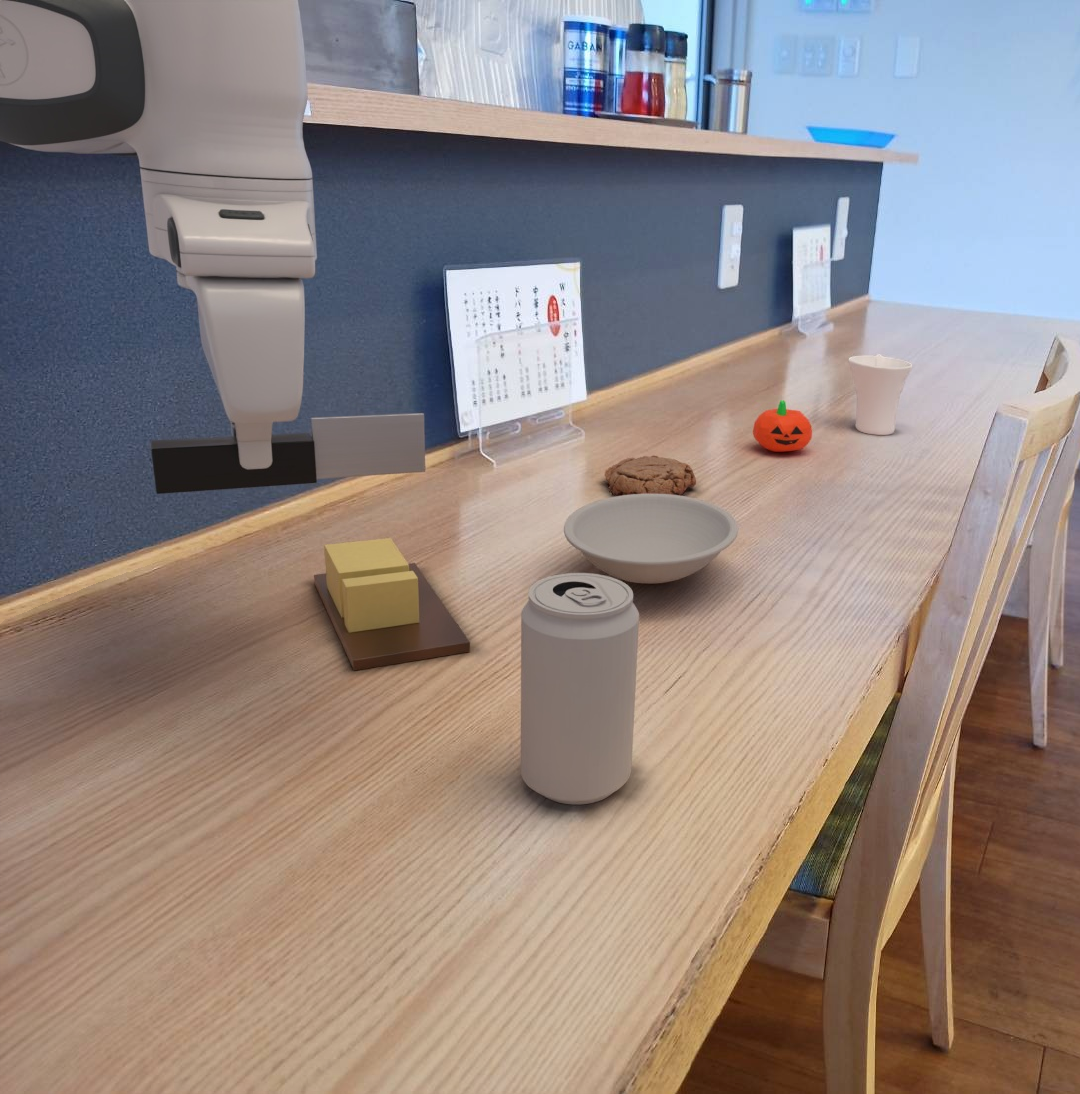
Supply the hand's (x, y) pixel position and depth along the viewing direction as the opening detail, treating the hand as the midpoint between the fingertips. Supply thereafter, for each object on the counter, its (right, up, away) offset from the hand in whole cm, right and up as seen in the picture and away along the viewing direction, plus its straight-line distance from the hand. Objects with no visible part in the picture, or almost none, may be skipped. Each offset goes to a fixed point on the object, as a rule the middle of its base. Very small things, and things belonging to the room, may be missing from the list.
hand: (252, 458), depth 65 cm
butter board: (+4, -11, +14) cm, 18 cm away
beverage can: (+21, -19, -4) cm, 29 cm away
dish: (+23, -8, +25) cm, 35 cm away
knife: (+2, -1, +2) cm, 3 cm away
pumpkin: (+36, +7, +68) cm, 77 cm away
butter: (+2, -9, +15) cm, 18 cm away
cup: (+50, +11, +82) cm, 96 cm away
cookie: (+21, +1, +49) cm, 53 cm away
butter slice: (+4, -11, +11) cm, 16 cm away
